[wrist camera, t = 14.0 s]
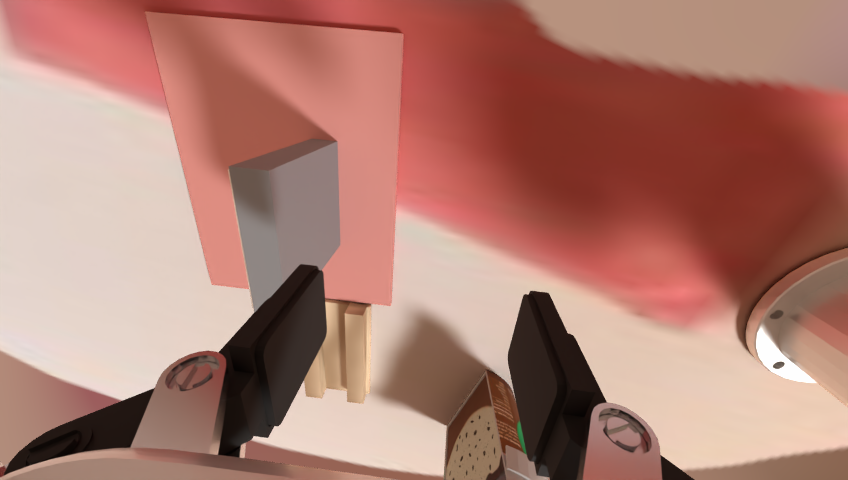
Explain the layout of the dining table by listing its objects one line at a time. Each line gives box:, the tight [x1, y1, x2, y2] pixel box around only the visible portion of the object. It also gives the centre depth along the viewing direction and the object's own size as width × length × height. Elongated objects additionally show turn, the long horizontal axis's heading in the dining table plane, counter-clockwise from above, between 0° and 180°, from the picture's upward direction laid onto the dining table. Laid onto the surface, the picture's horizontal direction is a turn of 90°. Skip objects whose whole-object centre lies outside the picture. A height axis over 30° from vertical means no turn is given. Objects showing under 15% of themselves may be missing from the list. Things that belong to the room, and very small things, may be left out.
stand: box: [304, 299, 371, 404], centre depth 30 cm, size 6×11×2 cm, turn 175°
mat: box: [145, 11, 404, 306], centre depth 24 cm, size 16×20×1 cm
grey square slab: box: [228, 139, 340, 313], centre depth 19 cm, size 2×9×8 cm
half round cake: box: [444, 370, 548, 480], centre depth 28 cm, size 12×6×10 cm, turn 158°
